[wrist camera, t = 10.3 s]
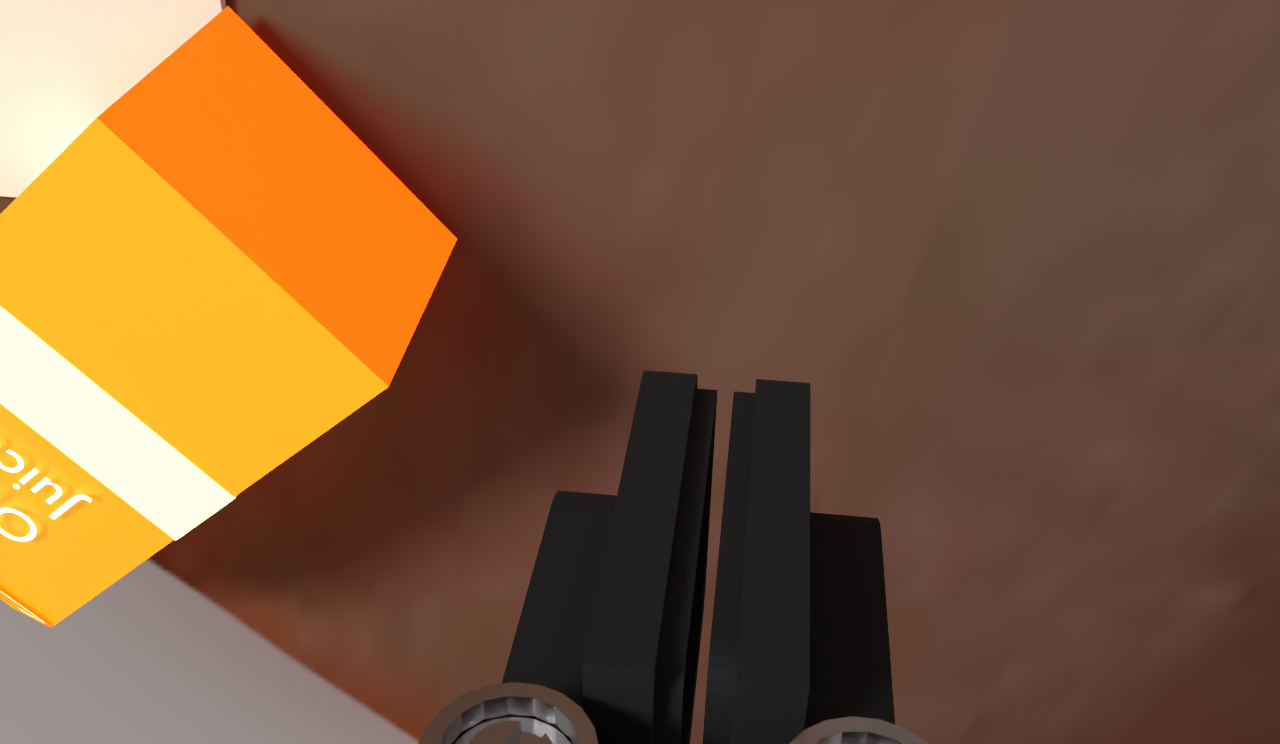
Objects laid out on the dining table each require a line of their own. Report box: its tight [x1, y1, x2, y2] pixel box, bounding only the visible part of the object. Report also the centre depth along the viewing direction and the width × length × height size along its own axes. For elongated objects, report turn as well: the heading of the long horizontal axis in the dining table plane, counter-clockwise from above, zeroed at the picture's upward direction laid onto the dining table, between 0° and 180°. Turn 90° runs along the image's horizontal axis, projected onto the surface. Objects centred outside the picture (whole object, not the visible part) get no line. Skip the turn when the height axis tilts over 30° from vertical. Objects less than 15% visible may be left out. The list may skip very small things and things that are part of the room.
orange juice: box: [0, 6, 457, 627], centre depth 35 cm, size 8×9×20 cm
